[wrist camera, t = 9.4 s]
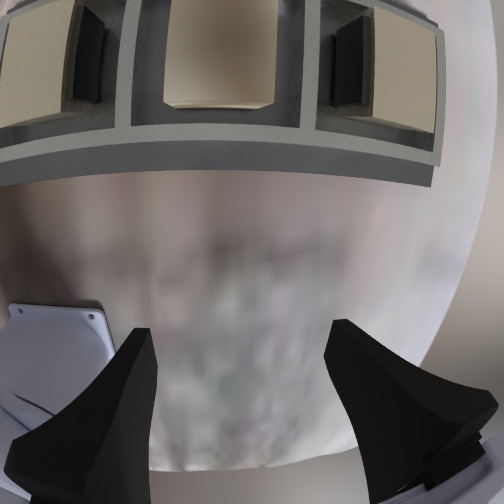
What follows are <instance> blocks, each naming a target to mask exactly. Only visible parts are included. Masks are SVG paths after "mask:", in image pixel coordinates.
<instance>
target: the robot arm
mask: <svg viewBox="0 0 504 504" xmlns="http://www.w3.org/2000/svg"><path fill="white" fill-rule="evenodd" d="M8 308H9V312H10V314H11V317H10V318H9V320H8V321H7V322H6V324H5V325H4V326H3V328H2V329H1V331H0V504H151V499H150V486H149V434H150V427H151V420H152V414H153V407H154V401H155V395H156V389H157V370H158V365H157V360H156V356H155V351H154V346H153V341H152V336H151V331H150V328H134V329H133V330H132V331H131V333H130V334H129V336H128V337H127V338H126V340H125V341H124V343H123V344H122V345H121V347H120V348H119V349H118V351H117V352H116V353H115V349H114V346H113V343H112V340H111V336H110V333H109V329H108V326H107V322H106V319H105V315H104V313H103V311H102V310H100V309H91V308H70V307H54V306H39V305H27V304H16V303H11V304H10V305H9V307H8ZM90 314H92V315H93V316H94V317H93V316H91V315H90ZM324 359H325V363H326V366H327V370H328V373H329V376H330V378H331V380H332V383H333V385H334V387H335V389H336V391H337V393H338V395H339V397H340V400H341V402H342V404H343V406H344V408H345V410H346V412H347V414H348V416H349V419H350V421H351V424H352V427H353V430H354V433H355V436H356V439H357V442H358V446H359V450H360V453H361V457H362V461H363V465H364V470H365V475H366V480H367V486H368V492H369V501H370V504H488V503H489V502H490V501H491V500H492V499H493V498H494V497H495V496H496V495H497V494H498V493H499V492H500V491H501V490H502V488H504V433H503V432H502V430H499V431H498V432H497V433H495V434H494V435H493V436H492V437H490V438H489V439H488V440H487V441H485V442H484V443H483V444H482V445H481V444H480V442H479V440H480V439H481V438H482V436H481V435H480V433H479V431H480V429H482V428H483V426H484V425H485V424H486V423H487V422H488V421H489V420H490V419H491V417H492V416H493V415H494V413H495V412H496V411H497V409H498V405H499V404H498V402H497V401H496V400H495V398H494V397H493V396H492V394H491V393H490V392H489V391H487V390H482V389H477V388H472V387H468V386H464V385H460V384H457V383H454V382H451V381H448V380H445V379H443V378H440V377H438V376H436V375H433V374H431V373H429V372H427V371H425V370H422V369H421V368H419V367H417V366H415V365H413V364H411V363H410V362H408V361H406V360H405V359H403V358H401V357H400V356H398V355H397V354H395V353H394V352H392V351H391V350H389V349H388V348H386V347H385V346H383V345H382V344H381V343H379V342H378V341H376V340H375V339H374V338H372V337H371V336H370V335H368V334H367V333H366V332H364V331H363V330H362V329H360V328H359V327H358V326H356V325H355V324H353V323H352V322H351V321H349V320H348V319H339V320H333V323H332V327H331V331H330V334H329V338H328V342H327V345H326V349H325V353H324Z"/></svg>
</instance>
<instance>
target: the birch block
mask: <svg viewBox="0 0 504 504" xmlns="http://www.w3.org/2000/svg"><path fill="white" fill-rule="evenodd" d="M277 22H278V0H172V2H171V10H170V18H169V27H168V37H167V48H166V61H165V76H164V97H163V102H165V103H167V104H168V105H170V106H172V107H173V108H175V109H177V110H188V109H233V110H256V109H258V108H261V107H264V106H266V105H269V104H272V103H274V93H275V71H276V48H277Z"/></svg>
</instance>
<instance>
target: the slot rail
mask: <svg viewBox="0 0 504 504" xmlns="http://www.w3.org/2000/svg"><path fill="white" fill-rule="evenodd" d="M171 2H172V0H29V1H27V2H25V3H22V4H20V5H18V6H16V7H14V8H12V9H10V10H8V12H7V15H5V16H3V17H1V21H0V187H4V186H10V185H16V184H22V183H28V182H35V181H42V180H50V179H58V178H66V177H76V176H86V175H97V174H109V173H123V172H140V171H164V170H256V171H280V172H298V173H313V174H326V175H337V176H348V177H357V178H367V179H375V180H383V181H391V182H398V183H405V184H412V185H419V186H425V187H431V182H432V176H433V169H434V166H438V167H440V161H441V153H442V144H443V134H444V121H445V103H446V58H445V40H444V31H443V30H441V29H439V28H438V24H437V23H435V22H433V21H431V20H429V19H427V18H426V17H424V16H422V15H420V14H418V13H416V12H414V11H411V10H409V9H407V8H405V7H403V6H401V5H398V4H396V3H394V2H391V1H389V0H278V22H277V48H276V71H275V93H274V103H272V104H269V105H266V106H264V107H261V108H258V109H256V110H233V109H188V110H177V109H175V108H173V107H172V106H170V105H168V104H167V103H165V102H163V97H164V76H165V61H166V48H167V37H168V27H169V18H170V10H171Z"/></svg>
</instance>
